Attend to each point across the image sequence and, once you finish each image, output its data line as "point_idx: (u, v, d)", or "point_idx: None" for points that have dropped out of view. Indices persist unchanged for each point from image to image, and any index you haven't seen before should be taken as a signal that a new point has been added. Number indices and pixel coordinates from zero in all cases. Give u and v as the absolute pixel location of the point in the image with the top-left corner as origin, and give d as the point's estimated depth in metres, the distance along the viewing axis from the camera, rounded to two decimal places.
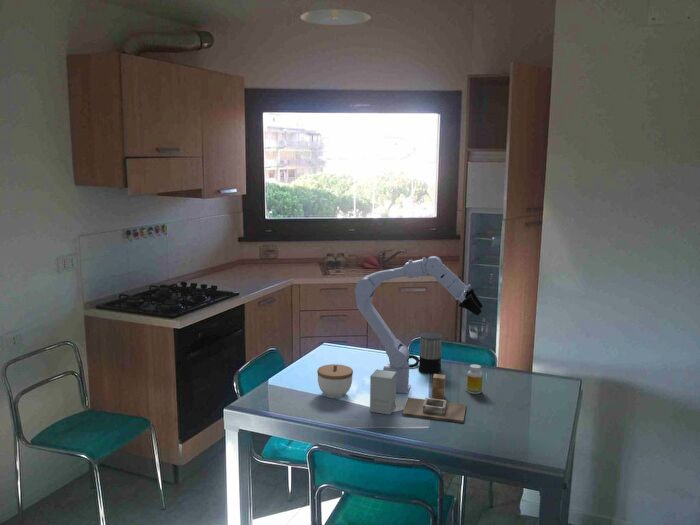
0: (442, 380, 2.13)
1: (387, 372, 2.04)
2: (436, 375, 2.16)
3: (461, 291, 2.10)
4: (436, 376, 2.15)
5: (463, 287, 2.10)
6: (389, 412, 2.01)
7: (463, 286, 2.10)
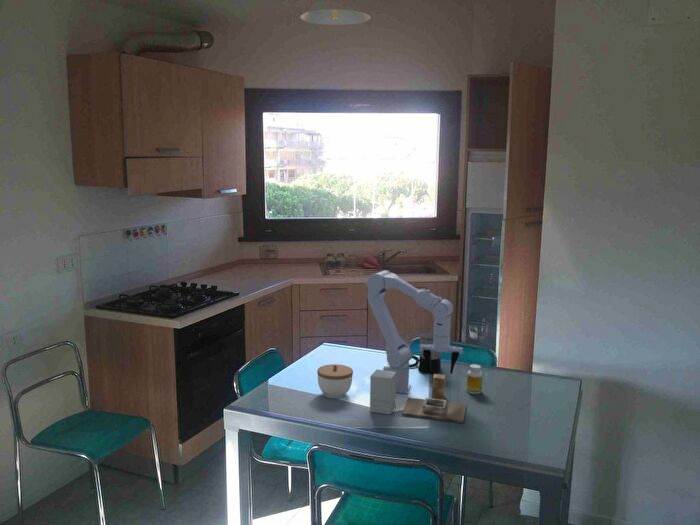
0: (442, 380, 2.13)
1: (387, 372, 2.04)
2: (436, 375, 2.16)
3: (433, 345, 2.13)
4: (436, 376, 2.15)
5: (435, 345, 2.11)
6: (389, 412, 2.01)
7: (436, 345, 2.11)
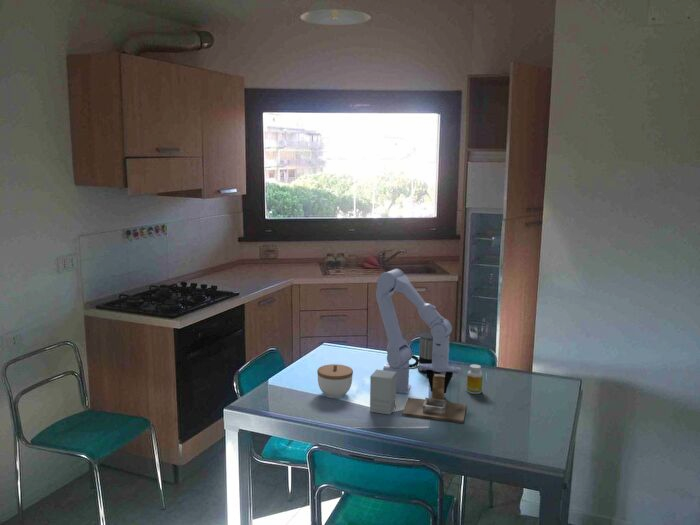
0: (442, 380, 2.13)
1: (387, 372, 2.04)
2: (436, 375, 2.16)
3: (431, 365, 2.14)
4: (436, 376, 2.15)
5: (434, 365, 2.13)
6: (389, 412, 2.01)
7: (434, 365, 2.12)
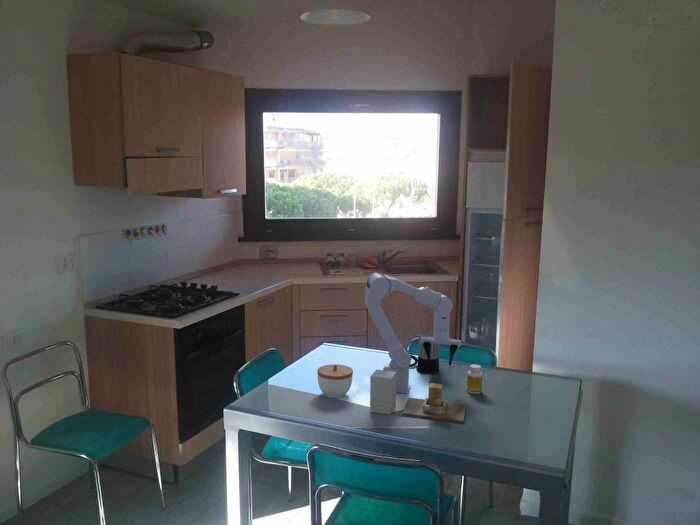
0: (439, 390, 2.01)
1: (387, 372, 2.04)
2: (432, 384, 2.04)
3: (433, 338, 2.23)
4: (432, 386, 2.03)
5: (435, 338, 2.21)
6: (389, 412, 2.01)
7: (435, 337, 2.21)
